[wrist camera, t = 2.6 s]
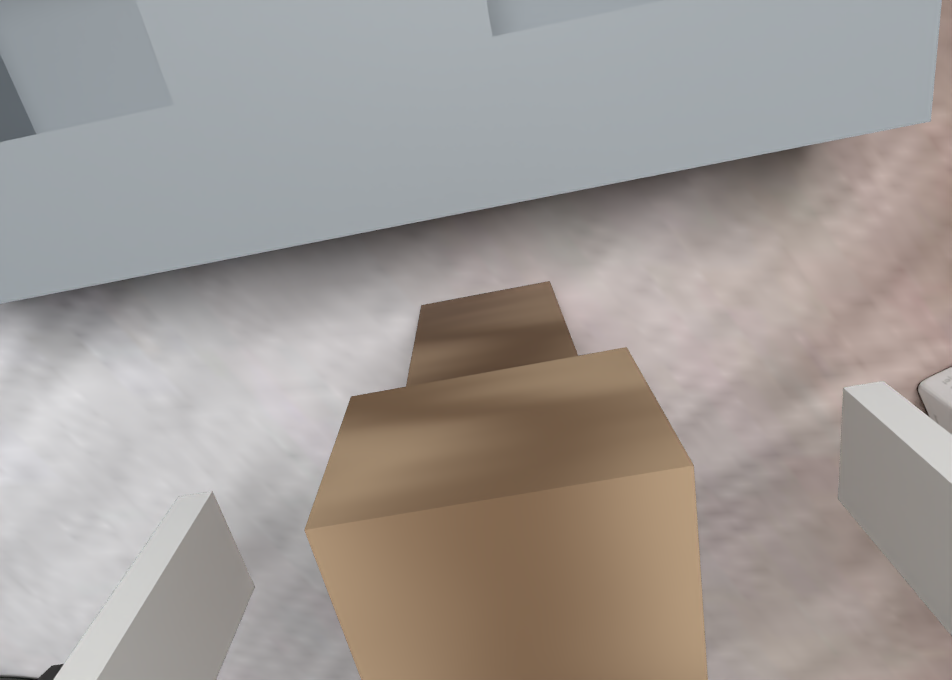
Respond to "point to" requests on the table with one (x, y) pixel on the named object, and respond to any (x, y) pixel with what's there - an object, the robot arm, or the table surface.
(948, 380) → the ink box
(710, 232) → the table surface
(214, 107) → the socket block
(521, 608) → the plug
